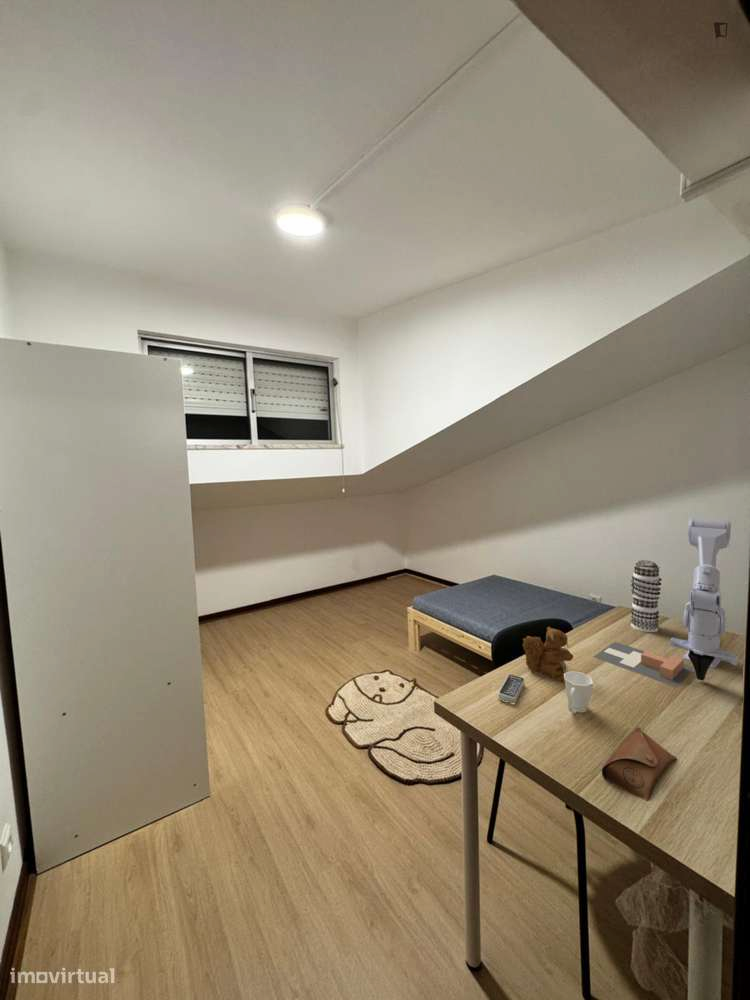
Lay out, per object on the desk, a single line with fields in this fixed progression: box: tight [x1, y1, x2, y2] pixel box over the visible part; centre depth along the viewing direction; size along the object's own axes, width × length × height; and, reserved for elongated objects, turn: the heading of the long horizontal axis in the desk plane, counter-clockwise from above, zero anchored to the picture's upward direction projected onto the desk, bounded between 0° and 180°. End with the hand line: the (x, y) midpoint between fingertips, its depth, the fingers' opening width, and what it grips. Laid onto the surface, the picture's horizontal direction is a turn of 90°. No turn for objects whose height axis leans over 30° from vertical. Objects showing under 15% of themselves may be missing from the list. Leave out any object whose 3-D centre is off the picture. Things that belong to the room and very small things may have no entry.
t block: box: [641, 651, 685, 680], centre depth 118 cm, size 10×9×3 cm
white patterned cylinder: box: [630, 560, 663, 633], centre depth 145 cm, size 9×9×25 cm
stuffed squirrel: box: [522, 626, 574, 682], centre depth 119 cm, size 10×14×13 cm
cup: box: [564, 670, 594, 714], centre depth 100 cm, size 7×10×8 cm
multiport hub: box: [497, 674, 525, 704], centre depth 109 cm, size 4×11×2 cm, turn 146°
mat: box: [593, 641, 694, 688], centre depth 122 cm, size 16×22×1 cm
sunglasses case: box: [601, 727, 677, 802], centre depth 82 cm, size 18×7×7 cm, turn 129°
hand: (700, 678), depth 110 cm, fingers closed
